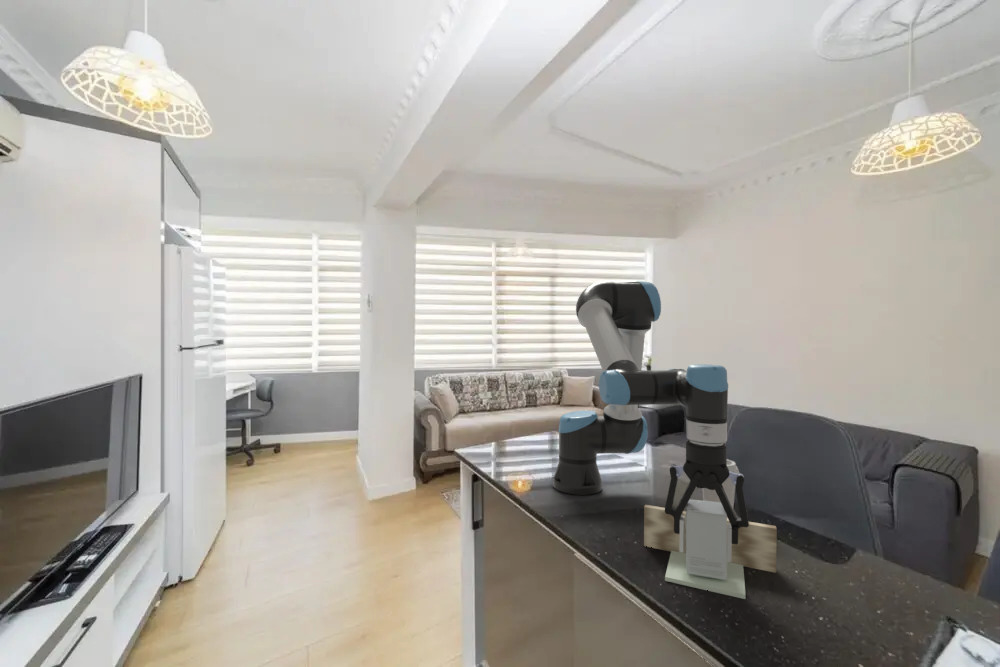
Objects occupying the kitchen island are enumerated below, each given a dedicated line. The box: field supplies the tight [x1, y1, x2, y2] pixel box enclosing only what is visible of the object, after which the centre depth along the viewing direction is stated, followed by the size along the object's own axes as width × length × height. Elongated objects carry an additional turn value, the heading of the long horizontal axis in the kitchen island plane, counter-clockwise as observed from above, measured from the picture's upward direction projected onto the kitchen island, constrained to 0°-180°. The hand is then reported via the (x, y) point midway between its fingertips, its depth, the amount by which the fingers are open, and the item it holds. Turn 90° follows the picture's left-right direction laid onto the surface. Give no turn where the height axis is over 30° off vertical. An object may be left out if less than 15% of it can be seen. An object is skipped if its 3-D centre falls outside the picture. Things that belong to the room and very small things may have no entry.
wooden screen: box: [643, 504, 778, 573], centre depth 100 cm, size 26×2×9 cm, turn 64°
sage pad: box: [664, 551, 746, 600], centre depth 93 cm, size 14×12×1 cm
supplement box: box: [685, 498, 727, 580], centre depth 93 cm, size 7×7×13 cm
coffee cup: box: [701, 458, 740, 518], centre depth 121 cm, size 10×10×15 cm
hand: (705, 553), depth 93 cm, fingers open, 8 cm apart
